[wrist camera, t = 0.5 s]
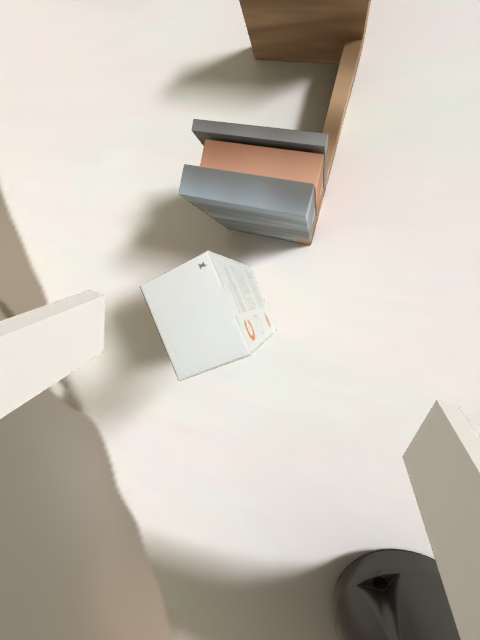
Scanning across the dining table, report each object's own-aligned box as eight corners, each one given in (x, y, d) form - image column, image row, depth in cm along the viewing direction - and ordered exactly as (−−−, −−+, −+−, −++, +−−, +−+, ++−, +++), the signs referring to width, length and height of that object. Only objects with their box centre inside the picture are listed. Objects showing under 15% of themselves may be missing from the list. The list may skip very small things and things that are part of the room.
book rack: (310, 245, 31) (305, 216, 20) (219, 226, 34) (166, 191, 22) (362, 47, 28) (392, -121, 17) (258, 43, 31) (222, -107, 19)
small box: (202, 287, 35) (136, 283, 22) (250, 264, 33) (208, 246, 21) (228, 351, 35) (177, 383, 22) (278, 331, 33) (253, 354, 20)
